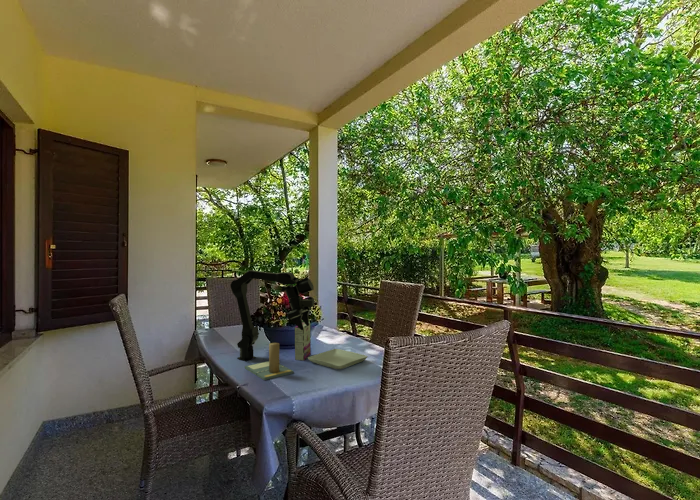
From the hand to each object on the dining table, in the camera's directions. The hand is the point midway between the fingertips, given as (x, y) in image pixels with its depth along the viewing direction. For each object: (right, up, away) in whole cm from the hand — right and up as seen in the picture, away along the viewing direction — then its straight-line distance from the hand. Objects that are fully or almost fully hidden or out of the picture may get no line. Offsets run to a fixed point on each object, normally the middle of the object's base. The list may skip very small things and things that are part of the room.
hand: (305, 327), depth 183 cm
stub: (-12, -17, -17) cm, 27 cm away
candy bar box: (-2, -17, +8) cm, 18 cm away
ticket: (-17, -17, -10) cm, 26 cm away
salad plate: (+16, -17, 0) cm, 23 cm away
